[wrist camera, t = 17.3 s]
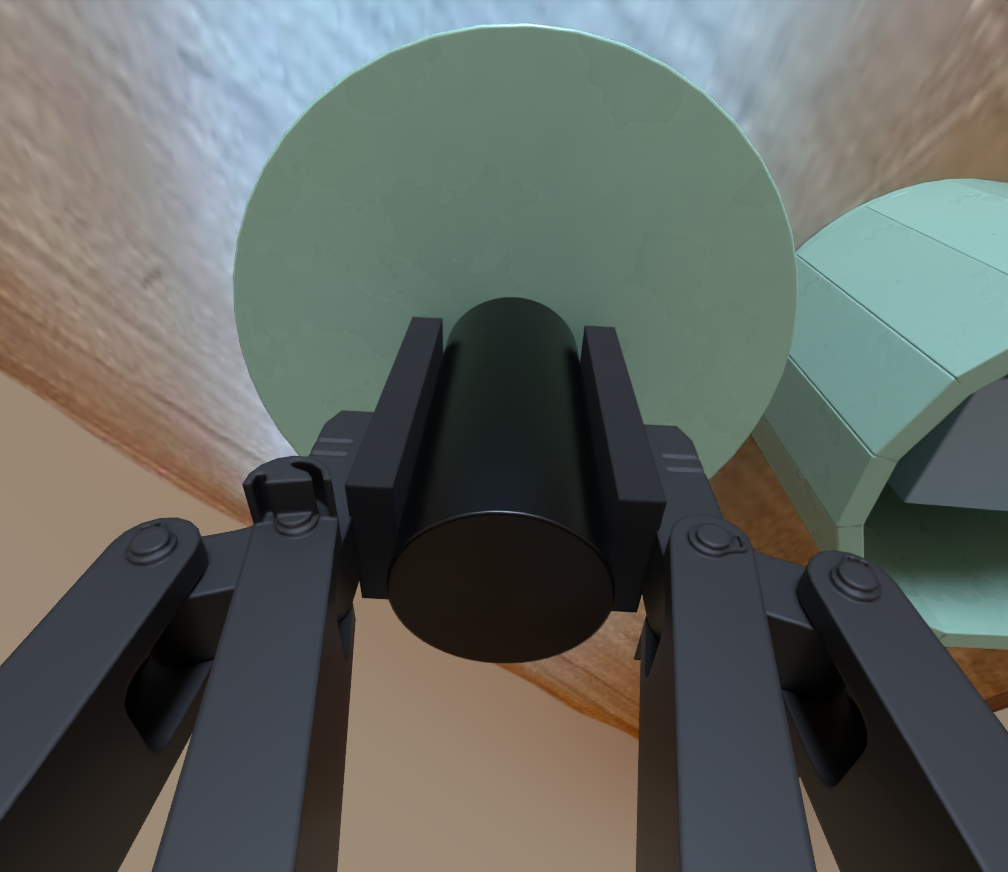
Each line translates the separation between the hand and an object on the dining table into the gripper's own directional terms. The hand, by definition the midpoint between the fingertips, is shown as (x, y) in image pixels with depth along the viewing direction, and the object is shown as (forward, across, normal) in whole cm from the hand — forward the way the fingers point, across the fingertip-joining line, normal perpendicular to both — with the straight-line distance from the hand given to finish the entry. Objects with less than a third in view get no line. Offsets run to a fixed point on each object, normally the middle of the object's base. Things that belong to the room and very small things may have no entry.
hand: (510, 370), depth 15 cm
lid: (+1, 0, 0) cm, 1 cm away
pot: (+10, +17, -3) cm, 20 cm away
